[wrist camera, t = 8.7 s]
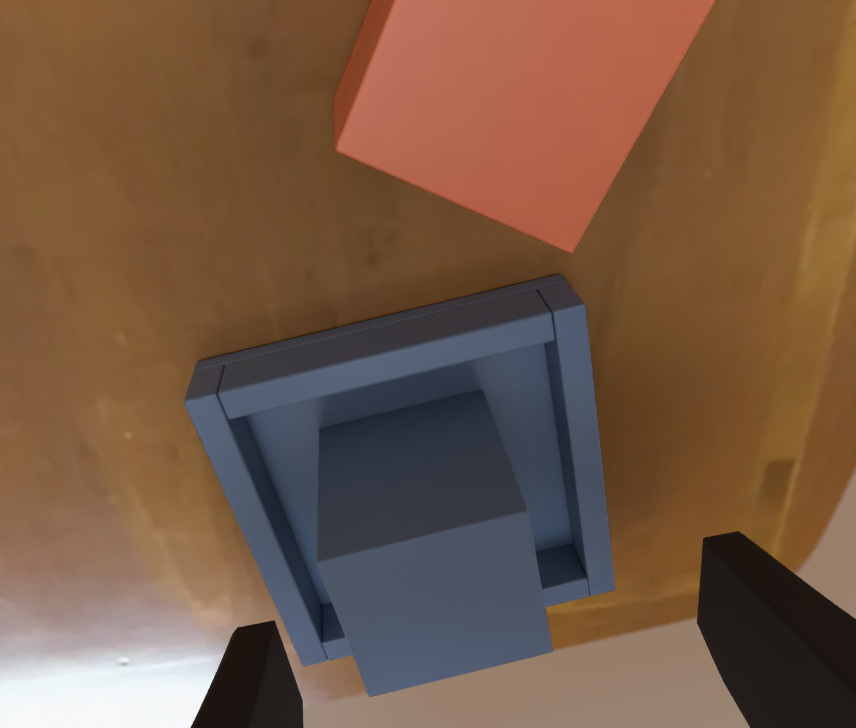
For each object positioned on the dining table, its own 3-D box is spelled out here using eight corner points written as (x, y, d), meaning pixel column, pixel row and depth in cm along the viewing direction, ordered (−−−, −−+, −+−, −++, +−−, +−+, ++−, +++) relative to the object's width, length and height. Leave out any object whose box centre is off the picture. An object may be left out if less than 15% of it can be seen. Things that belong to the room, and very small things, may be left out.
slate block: (482, 388, 19) (528, 510, 15) (507, 513, 21) (553, 652, 17) (318, 428, 19) (315, 563, 15) (360, 549, 21) (369, 698, 17)
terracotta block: (607, -10, 15) (720, -5, 11) (509, 183, 17) (572, 254, 13) (417, -121, 14) (458, -164, 10) (332, 102, 16) (333, 151, 11)
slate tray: (561, 272, 18) (586, 303, 16) (594, 543, 23) (616, 590, 21) (196, 361, 18) (182, 402, 16) (304, 615, 23) (302, 668, 21)
